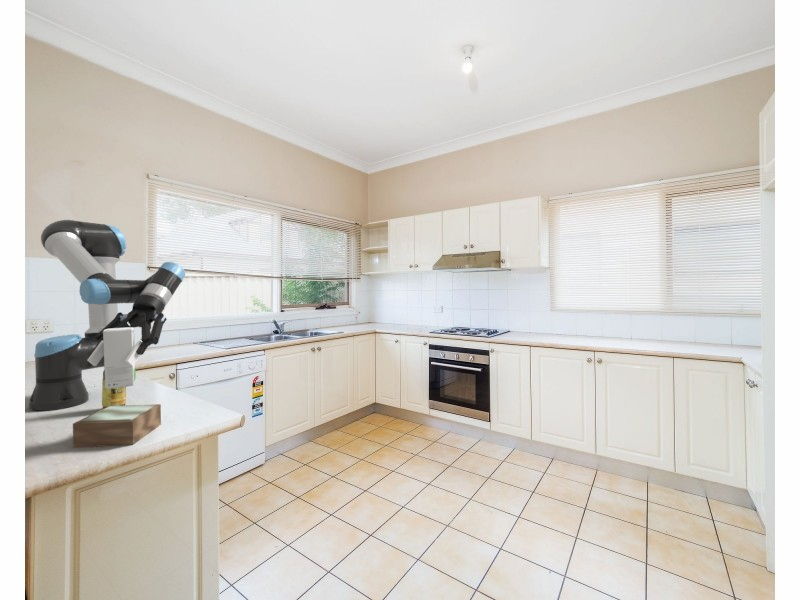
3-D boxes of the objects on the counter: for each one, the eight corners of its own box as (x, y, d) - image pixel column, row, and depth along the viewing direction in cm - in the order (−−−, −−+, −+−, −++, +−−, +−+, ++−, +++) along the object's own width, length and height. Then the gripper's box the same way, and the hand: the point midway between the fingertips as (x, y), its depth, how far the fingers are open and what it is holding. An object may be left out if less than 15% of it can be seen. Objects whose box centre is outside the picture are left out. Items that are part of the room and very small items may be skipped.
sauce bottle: (112, 413, 117) (111, 352, 117) (97, 411, 119) (96, 351, 118) (131, 406, 124) (130, 348, 123) (116, 405, 125) (115, 348, 124)
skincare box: (133, 386, 98) (132, 329, 98) (102, 390, 95) (101, 330, 94) (136, 379, 105) (135, 326, 105) (107, 382, 102) (106, 327, 101)
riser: (109, 426, 106) (109, 404, 106) (160, 424, 108) (160, 403, 108) (73, 447, 92) (72, 422, 92) (133, 444, 94) (132, 420, 94)
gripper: (192, 310, 114) (158, 371, 99) (124, 309, 115) (79, 370, 100) (181, 293, 109) (143, 356, 94) (110, 293, 110) (60, 354, 94)
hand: (110, 363), depth 97 cm, fingers closed on skincare box, 10 cm apart
